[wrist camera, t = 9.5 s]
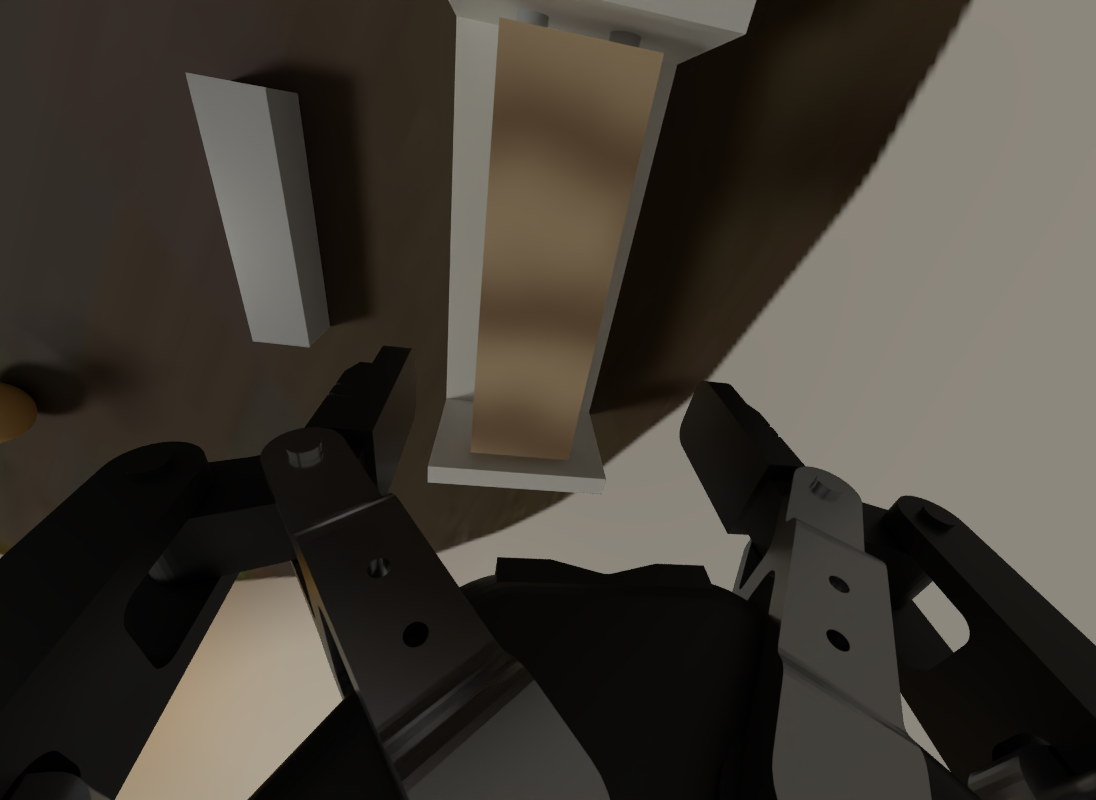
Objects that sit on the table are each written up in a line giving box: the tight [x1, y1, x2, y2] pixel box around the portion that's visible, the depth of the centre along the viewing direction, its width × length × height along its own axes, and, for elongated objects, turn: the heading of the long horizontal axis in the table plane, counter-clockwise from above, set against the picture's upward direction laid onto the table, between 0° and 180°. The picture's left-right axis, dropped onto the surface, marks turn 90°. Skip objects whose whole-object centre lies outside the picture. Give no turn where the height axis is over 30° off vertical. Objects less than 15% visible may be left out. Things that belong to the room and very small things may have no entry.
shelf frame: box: [428, 0, 756, 494], centre depth 21 cm, size 22×10×8 cm, turn 171°
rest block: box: [186, 73, 330, 347], centre depth 21 cm, size 12×3×3 cm, turn 171°
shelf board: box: [470, 17, 664, 460], centre depth 19 cm, size 18×6×2 cm, turn 171°
